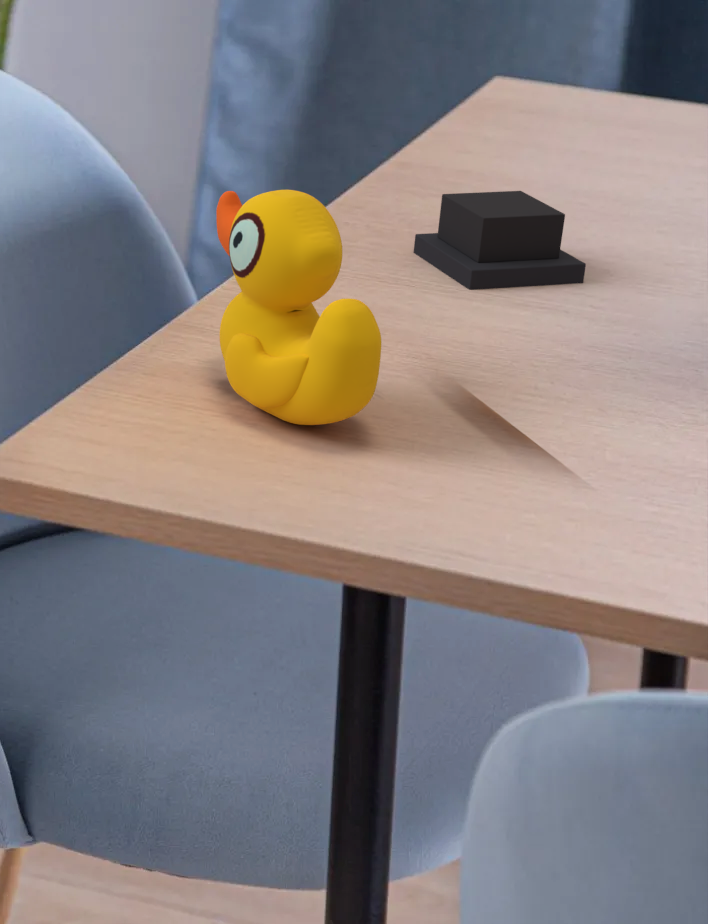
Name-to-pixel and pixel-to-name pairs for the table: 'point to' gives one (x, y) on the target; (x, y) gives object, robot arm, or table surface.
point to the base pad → (497, 267)
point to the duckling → (293, 312)
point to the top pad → (500, 226)
